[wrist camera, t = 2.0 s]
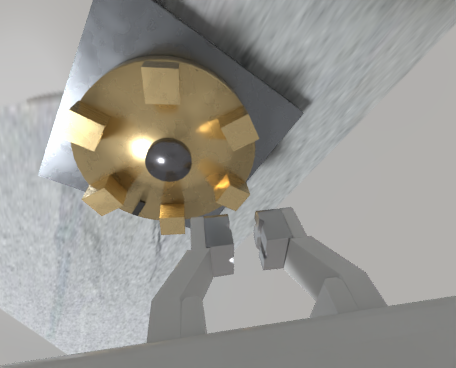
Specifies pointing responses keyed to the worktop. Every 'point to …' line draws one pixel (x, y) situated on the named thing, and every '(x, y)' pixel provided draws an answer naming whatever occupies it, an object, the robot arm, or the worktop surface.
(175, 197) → the ring nut
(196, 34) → the base plate
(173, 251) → the worktop surface
